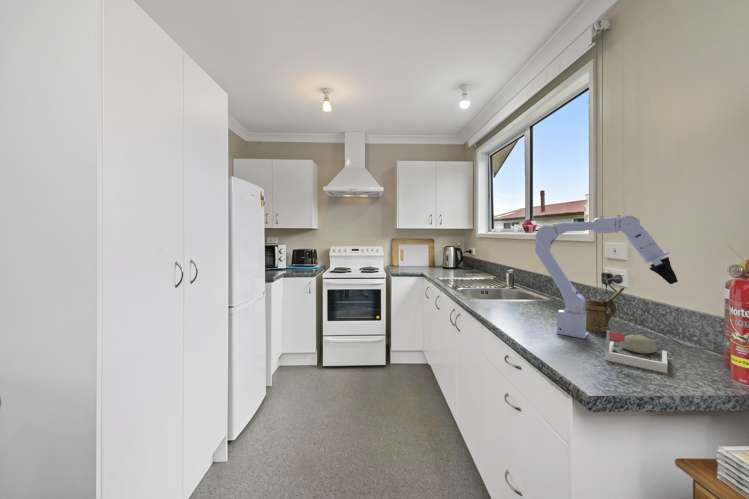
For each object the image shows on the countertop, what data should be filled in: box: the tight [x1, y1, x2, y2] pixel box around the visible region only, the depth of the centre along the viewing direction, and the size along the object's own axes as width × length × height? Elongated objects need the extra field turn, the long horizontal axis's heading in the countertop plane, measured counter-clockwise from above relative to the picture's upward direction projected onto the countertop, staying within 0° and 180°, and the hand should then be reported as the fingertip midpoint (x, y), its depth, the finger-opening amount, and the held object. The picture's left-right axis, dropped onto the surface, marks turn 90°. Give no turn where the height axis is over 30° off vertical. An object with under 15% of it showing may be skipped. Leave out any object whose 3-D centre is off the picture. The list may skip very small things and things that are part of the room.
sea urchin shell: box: [620, 334, 658, 354], centre depth 106 cm, size 9×8×8 cm
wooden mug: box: [584, 287, 625, 333], centre depth 128 cm, size 9×14×18 cm, turn 52°
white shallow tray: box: [604, 330, 668, 374], centre depth 97 cm, size 14×14×9 cm
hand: (673, 280), depth 105 cm, fingers open, 7 cm apart
